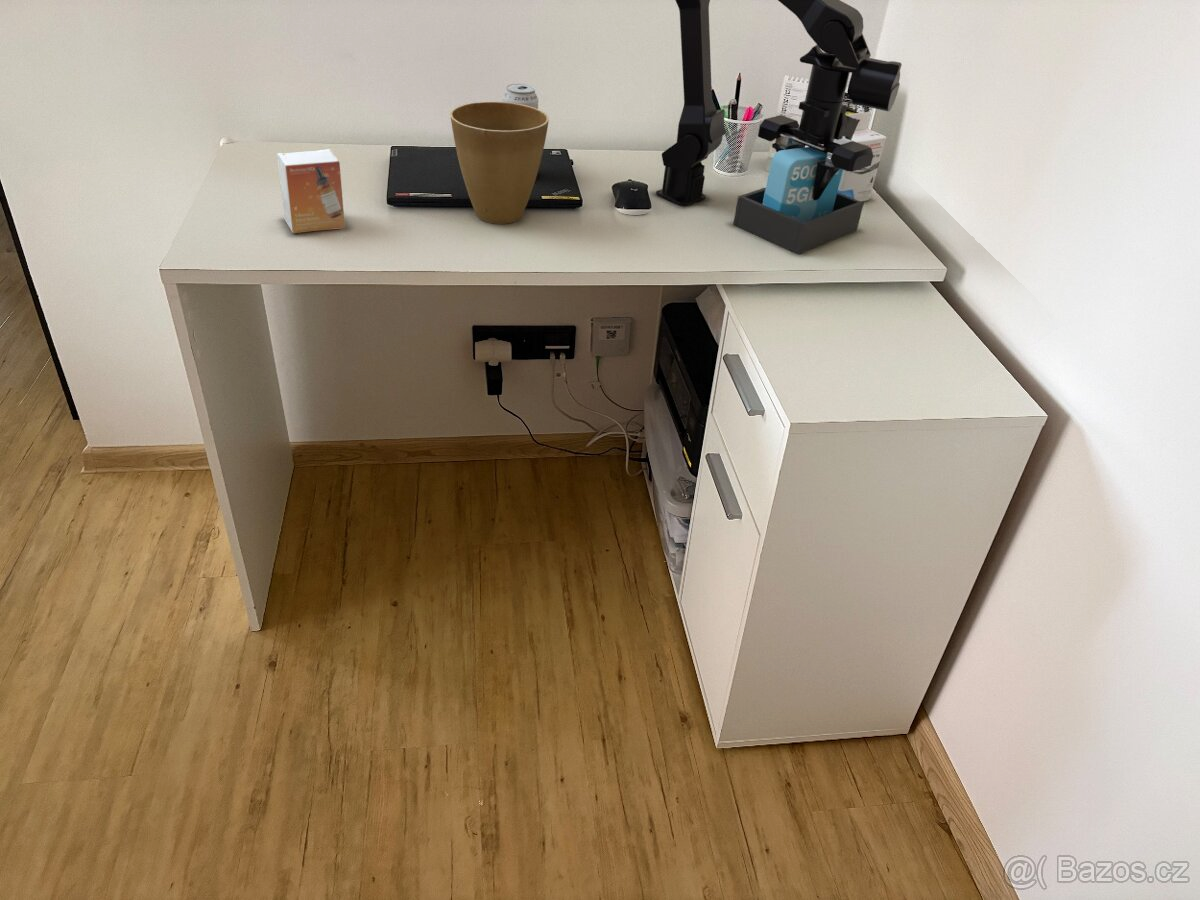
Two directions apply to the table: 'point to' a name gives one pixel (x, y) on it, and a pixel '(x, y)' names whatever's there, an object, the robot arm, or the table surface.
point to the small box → (311, 190)
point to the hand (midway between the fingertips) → (802, 194)
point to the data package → (799, 184)
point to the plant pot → (499, 156)
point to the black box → (796, 222)
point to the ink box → (863, 179)
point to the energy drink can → (521, 95)
